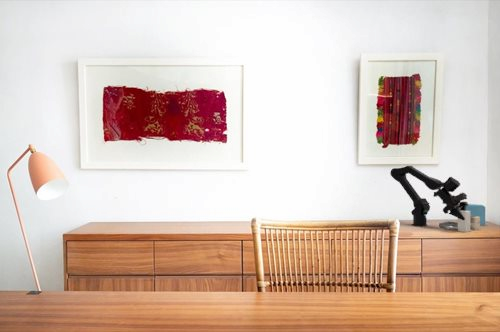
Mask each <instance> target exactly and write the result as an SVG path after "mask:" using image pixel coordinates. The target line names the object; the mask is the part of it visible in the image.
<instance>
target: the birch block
mask: <svg viewBox="0 0 500 332" xmlns="http://www.w3.org/2000/svg"><path fill="white" fill-rule="evenodd" d="M480 229H481V225H480V217H477V216H470V231H479V230H480Z"/></svg>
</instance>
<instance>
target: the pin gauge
mask: <svg viewBox="0 0 500 332" xmlns="http://www.w3.org/2000/svg"><path fill="white" fill-rule="evenodd" d="M439 228H440V229H446V228H449V229H448V230H454V229H458V227H454V226H446V225H440V227H439Z"/></svg>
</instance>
